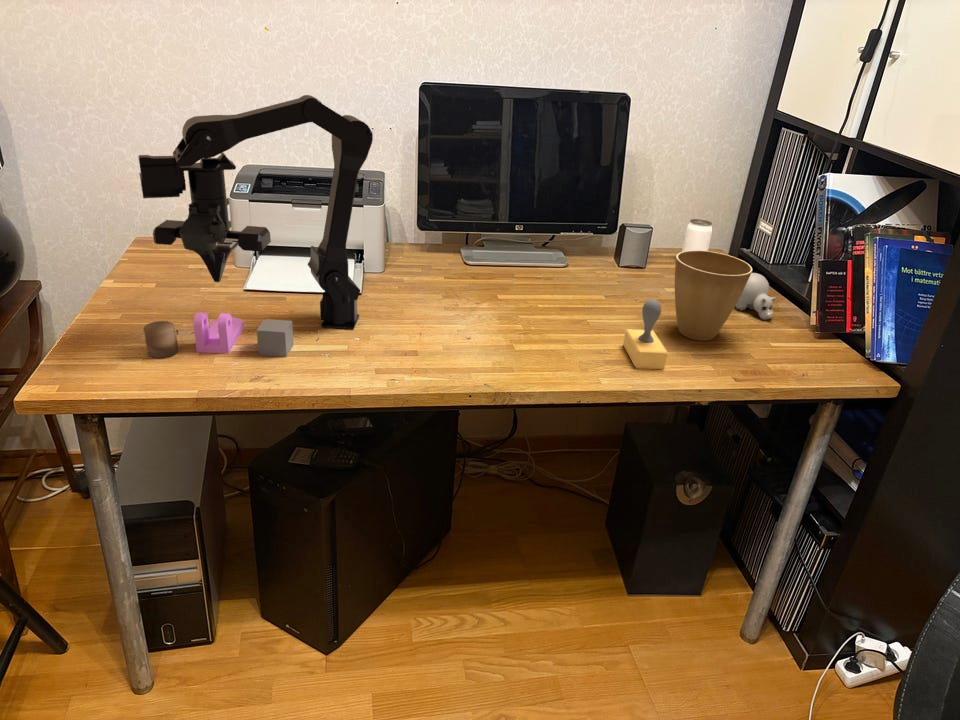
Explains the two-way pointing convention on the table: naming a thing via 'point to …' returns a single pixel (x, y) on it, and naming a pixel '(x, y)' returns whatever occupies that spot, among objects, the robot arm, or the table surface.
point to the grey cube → (275, 338)
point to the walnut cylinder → (161, 339)
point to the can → (697, 235)
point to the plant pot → (707, 291)
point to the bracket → (216, 333)
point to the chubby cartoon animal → (757, 296)
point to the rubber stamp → (646, 340)
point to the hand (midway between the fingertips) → (217, 281)
